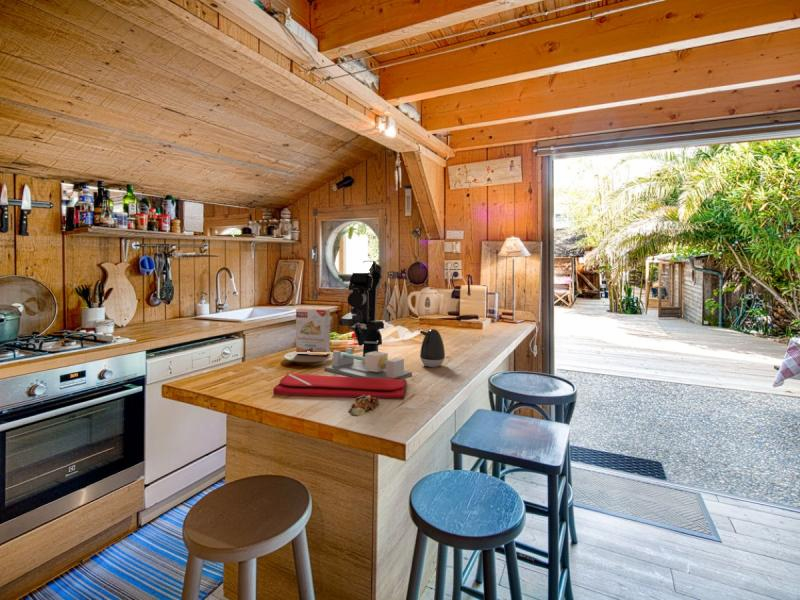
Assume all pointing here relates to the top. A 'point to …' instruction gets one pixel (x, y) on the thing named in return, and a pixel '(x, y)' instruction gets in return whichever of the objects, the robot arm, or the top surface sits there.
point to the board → (358, 367)
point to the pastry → (363, 405)
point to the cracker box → (312, 330)
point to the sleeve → (374, 361)
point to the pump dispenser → (432, 349)
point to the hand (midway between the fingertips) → (360, 345)
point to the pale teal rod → (381, 363)
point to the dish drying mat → (340, 386)
